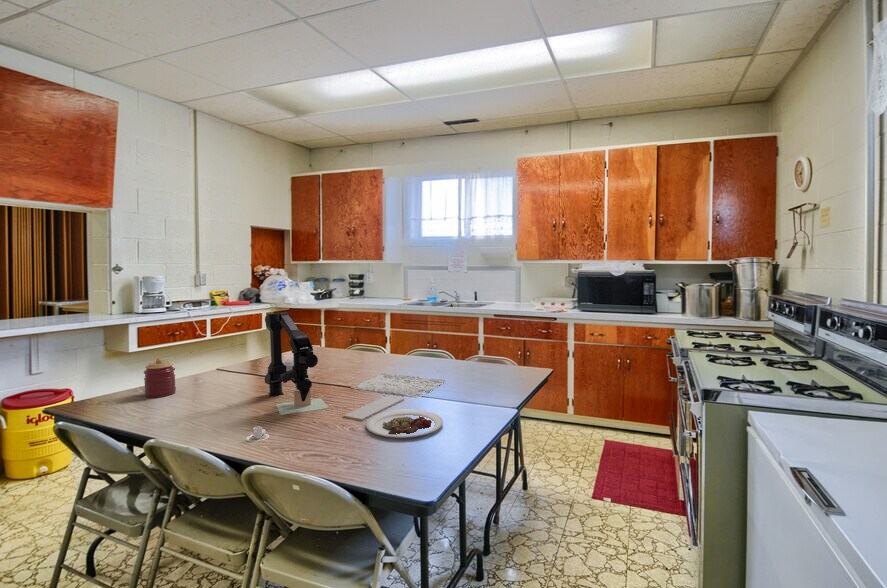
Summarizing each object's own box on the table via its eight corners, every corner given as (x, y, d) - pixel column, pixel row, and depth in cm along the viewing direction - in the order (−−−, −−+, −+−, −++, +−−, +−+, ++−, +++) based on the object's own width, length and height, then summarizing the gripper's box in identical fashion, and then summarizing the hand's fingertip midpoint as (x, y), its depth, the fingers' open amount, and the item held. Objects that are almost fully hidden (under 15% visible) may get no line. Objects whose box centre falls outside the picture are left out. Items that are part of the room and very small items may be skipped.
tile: (293, 405, 203) (293, 390, 203) (309, 403, 206) (309, 388, 206) (294, 407, 201) (294, 391, 201) (310, 404, 204) (310, 389, 204)
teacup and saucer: (259, 432, 174) (258, 422, 174) (275, 435, 171) (275, 425, 171) (240, 441, 166) (240, 430, 166) (257, 444, 163) (257, 433, 163)
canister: (149, 391, 227) (147, 356, 226) (178, 389, 231) (177, 354, 230) (141, 399, 215) (139, 362, 214) (172, 396, 219) (170, 360, 218)
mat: (275, 405, 205) (275, 404, 205) (321, 399, 214) (321, 398, 214) (280, 416, 191) (280, 414, 191) (328, 408, 200) (328, 407, 200)
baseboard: (338, 417, 191) (361, 422, 185) (338, 411, 191) (361, 415, 185) (383, 397, 218) (404, 401, 212) (383, 391, 218) (404, 395, 212)
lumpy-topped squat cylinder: (308, 374, 261) (308, 359, 261) (290, 379, 250) (290, 363, 250) (296, 371, 267) (296, 357, 266) (277, 376, 256) (277, 361, 255)
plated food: (355, 421, 185) (355, 413, 185) (421, 409, 200) (421, 401, 200) (383, 448, 159) (383, 438, 159) (457, 431, 174) (457, 423, 174)
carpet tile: (445, 383, 243) (445, 379, 243) (420, 399, 215) (420, 395, 215) (381, 376, 259) (381, 372, 259) (350, 390, 231) (350, 386, 231)
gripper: (278, 361, 207) (279, 395, 208) (284, 370, 190) (285, 407, 191) (303, 359, 212) (304, 392, 213) (311, 367, 195) (312, 403, 196)
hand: (301, 398), depth 203 cm, fingers open, 9 cm apart
